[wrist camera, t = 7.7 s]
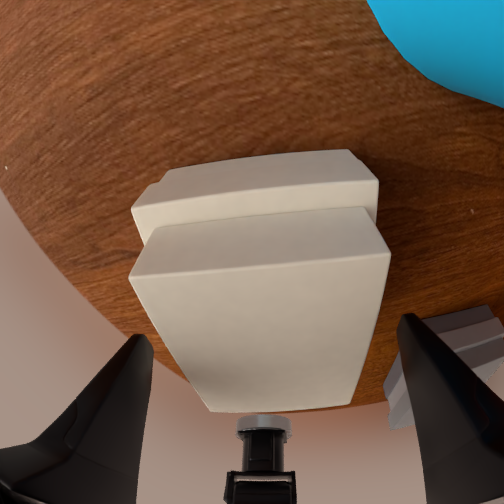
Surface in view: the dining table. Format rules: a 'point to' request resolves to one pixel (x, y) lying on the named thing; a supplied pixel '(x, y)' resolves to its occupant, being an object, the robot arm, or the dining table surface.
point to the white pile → (257, 189)
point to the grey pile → (462, 343)
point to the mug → (450, 42)
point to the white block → (267, 305)
